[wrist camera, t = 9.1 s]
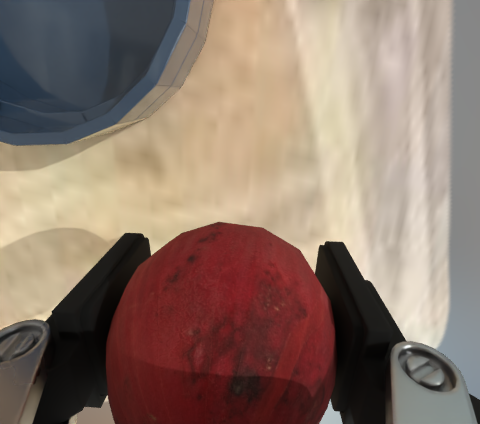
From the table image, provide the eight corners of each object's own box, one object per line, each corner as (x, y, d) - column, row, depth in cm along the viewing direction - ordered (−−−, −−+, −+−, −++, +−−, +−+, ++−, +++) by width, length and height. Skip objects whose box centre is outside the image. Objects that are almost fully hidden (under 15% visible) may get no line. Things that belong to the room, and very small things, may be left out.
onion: (204, 157, 10) (28, 371, 2) (340, 236, 10) (536, 578, 3) (141, 275, 12) (-56, 585, 4) (258, 333, 13) (258, 671, 5)
